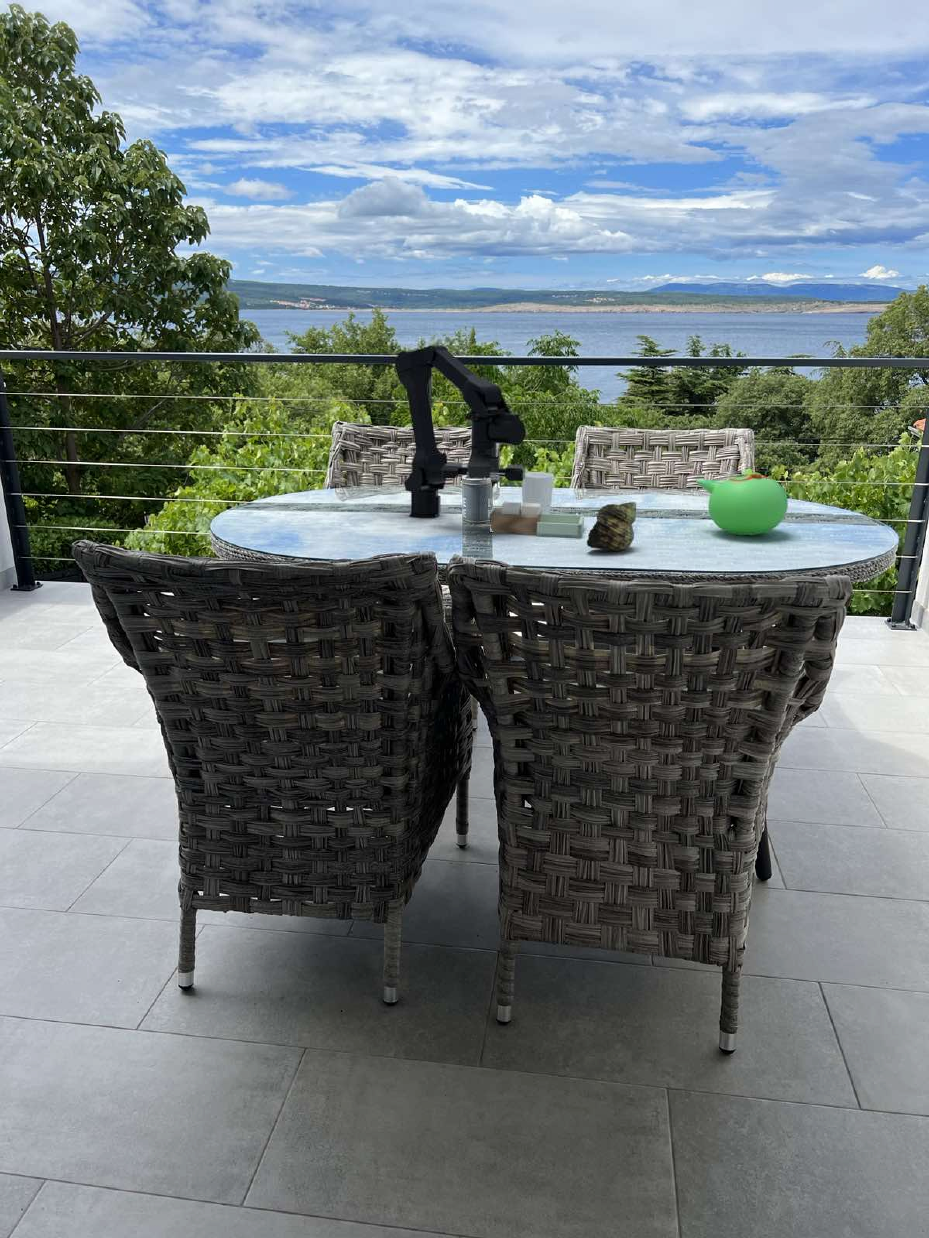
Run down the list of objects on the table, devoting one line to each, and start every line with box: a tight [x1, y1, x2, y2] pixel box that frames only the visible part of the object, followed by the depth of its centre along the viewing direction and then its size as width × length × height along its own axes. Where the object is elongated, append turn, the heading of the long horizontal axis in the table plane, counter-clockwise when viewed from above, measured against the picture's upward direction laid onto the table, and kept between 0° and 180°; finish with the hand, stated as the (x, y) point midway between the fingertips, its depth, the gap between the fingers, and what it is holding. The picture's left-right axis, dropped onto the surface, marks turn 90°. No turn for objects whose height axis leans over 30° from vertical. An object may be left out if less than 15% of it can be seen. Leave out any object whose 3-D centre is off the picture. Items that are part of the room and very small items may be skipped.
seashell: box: [586, 501, 637, 551], centre depth 211 cm, size 11×11×10 cm
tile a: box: [501, 501, 522, 515], centre depth 228 cm, size 4×4×2 cm
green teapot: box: [695, 468, 789, 536], centre depth 226 cm, size 18×17×15 cm
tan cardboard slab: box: [489, 507, 541, 536], centre depth 229 cm, size 11×9×4 cm
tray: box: [536, 513, 585, 539], centre depth 228 cm, size 10×11×3 cm
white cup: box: [521, 471, 555, 514], centre depth 246 cm, size 8×8×10 cm
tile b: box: [521, 502, 541, 516], centre depth 228 cm, size 4×4×2 cm
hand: (482, 509), depth 230 cm, fingers closed
